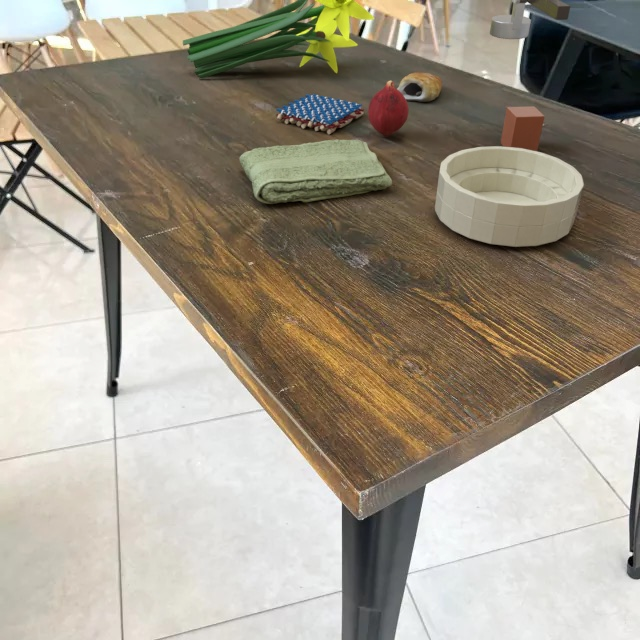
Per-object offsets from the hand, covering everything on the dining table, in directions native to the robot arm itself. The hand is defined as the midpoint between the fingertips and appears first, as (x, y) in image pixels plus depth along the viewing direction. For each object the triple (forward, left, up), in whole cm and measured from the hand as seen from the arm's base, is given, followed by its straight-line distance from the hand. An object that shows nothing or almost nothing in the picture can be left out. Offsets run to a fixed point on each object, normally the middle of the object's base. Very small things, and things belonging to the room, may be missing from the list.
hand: (529, 2), depth 82 cm
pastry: (+7, -23, -19) cm, 31 cm away
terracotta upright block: (-2, +1, -19) cm, 19 cm away
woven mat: (+25, -13, -19) cm, 34 cm away
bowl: (+7, +21, -19) cm, 29 cm away
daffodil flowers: (+31, -37, -19) cm, 52 cm away
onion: (+16, -5, -19) cm, 26 cm away
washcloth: (+28, +9, -19) cm, 35 cm away
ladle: (0, +1, -5) cm, 5 cm away
